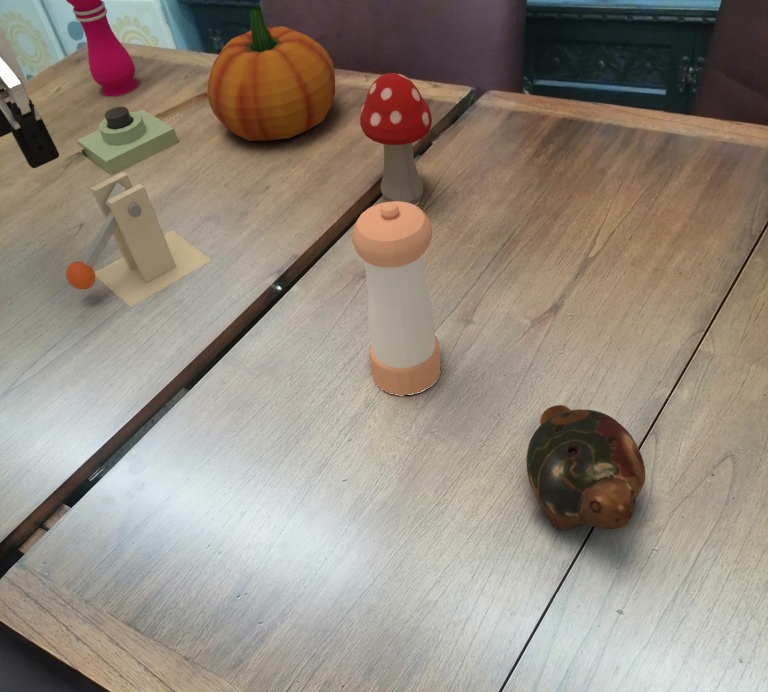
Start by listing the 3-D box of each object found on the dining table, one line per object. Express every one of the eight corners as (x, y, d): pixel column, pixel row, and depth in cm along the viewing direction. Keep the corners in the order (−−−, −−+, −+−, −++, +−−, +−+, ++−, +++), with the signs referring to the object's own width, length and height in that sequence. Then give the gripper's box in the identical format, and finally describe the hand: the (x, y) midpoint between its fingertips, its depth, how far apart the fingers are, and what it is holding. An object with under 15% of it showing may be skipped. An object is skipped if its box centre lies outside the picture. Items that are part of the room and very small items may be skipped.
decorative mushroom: (448, 203, 91) (444, 80, 79) (389, 226, 89) (376, 104, 77) (414, 170, 96) (405, 50, 84) (358, 190, 95) (341, 71, 83)
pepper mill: (122, 84, 122) (69, -56, 106) (152, 90, 120) (102, -53, 103) (94, 103, 119) (34, -38, 103) (124, 110, 116) (67, -34, 100)
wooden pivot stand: (134, 314, 84) (90, 227, 75) (96, 280, 89) (51, 194, 80) (215, 268, 88) (183, 179, 78) (175, 238, 93) (140, 150, 83)
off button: (116, 132, 104) (111, 121, 103) (105, 125, 106) (100, 113, 104) (136, 123, 105) (132, 111, 104) (125, 116, 107) (120, 104, 106)
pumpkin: (262, 168, 101) (233, 54, 89) (197, 126, 110) (163, 18, 98) (365, 115, 107) (351, 2, 94) (294, 80, 116) (274, -28, 104)
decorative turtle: (567, 581, 58) (570, 524, 51) (499, 457, 67) (495, 397, 61) (675, 543, 58) (692, 483, 52) (592, 426, 68) (598, 362, 61)
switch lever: (91, 298, 83) (68, 286, 80) (79, 287, 85) (56, 275, 82) (147, 203, 81) (124, 188, 78) (134, 194, 82) (111, 178, 80)
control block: (112, 175, 104) (100, 149, 101) (82, 154, 109) (70, 128, 106) (179, 142, 108) (169, 115, 105) (147, 122, 113) (138, 97, 110)
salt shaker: (452, 360, 74) (447, 190, 58) (420, 405, 71) (405, 239, 55) (394, 341, 77) (374, 174, 61) (360, 384, 73) (329, 219, 58)
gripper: (-146, -55, 63) (-35, 134, 77) (-87, -14, 55) (26, 191, 69) (-67, -81, 66) (27, 108, 80) (1, -45, 57) (93, 159, 71)
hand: (27, 146), depth 74 cm, fingers open, 9 cm apart
